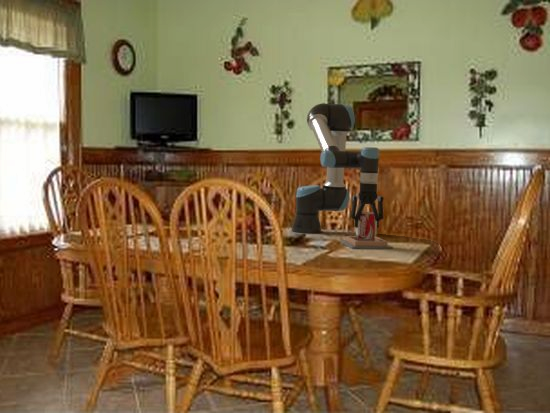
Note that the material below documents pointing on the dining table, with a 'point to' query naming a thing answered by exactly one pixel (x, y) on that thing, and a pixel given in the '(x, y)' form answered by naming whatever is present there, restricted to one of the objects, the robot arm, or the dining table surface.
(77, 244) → the dining table surface
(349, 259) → the dining table surface
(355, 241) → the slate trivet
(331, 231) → the dining table surface
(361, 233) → the soda can
